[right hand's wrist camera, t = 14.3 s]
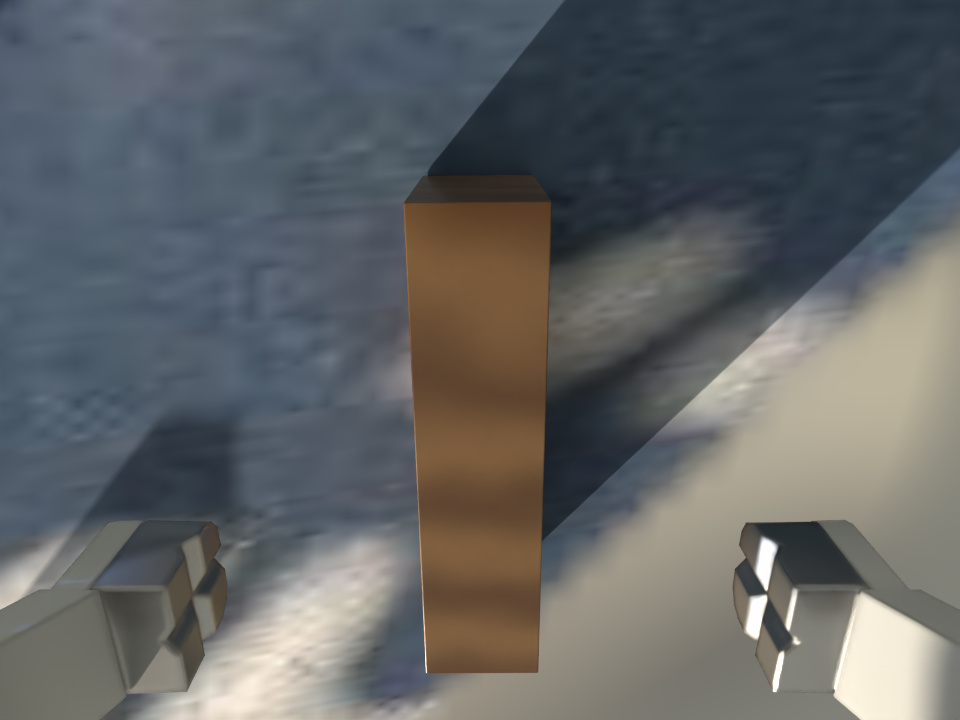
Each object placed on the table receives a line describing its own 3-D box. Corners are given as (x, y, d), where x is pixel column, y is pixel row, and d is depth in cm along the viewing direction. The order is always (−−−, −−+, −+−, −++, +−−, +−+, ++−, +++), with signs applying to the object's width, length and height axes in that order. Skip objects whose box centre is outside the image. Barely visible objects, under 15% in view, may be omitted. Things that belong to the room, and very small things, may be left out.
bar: (422, 175, 33) (403, 202, 25) (533, 174, 33) (551, 200, 25) (436, 557, 41) (425, 673, 33) (526, 556, 41) (538, 673, 33)
